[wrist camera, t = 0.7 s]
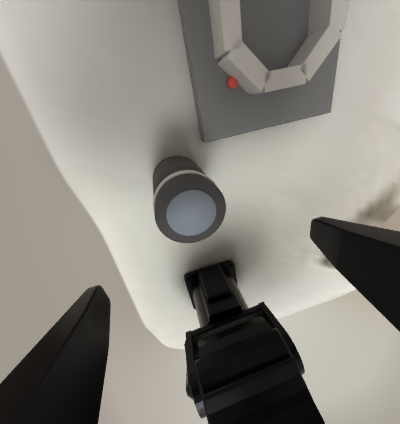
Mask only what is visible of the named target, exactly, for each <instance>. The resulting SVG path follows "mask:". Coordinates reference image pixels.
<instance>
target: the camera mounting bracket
mask: <svg viewBox="0 0 400 424" xmlns="http://www.w3.org/2000/svg"><path fill="white" fill-rule="evenodd" d="M178 5H179V11H180V17H181V22H182V28H183V34H184V40H185V46H186V51H187V57H188V63H189V69H190V74H191V80H192V86H193V92H194V97H195V103H196V109H197V115H198V120H199V126H200V132H201V138H202V141H203V142H205V143H206V142H210V141H214V140H218V139H222V138H226V137H231V136H235V135H239V134H243V133H247V132H251V131H255V130H260V129H264V128H268V127H272V126H276V125H280V124H284V123H289V122H293V121H297V120H301V119H305V118H309V117H313V116H318V115H322V114H326V113H330V112H331V105H332V97H333V89H334V82H335V74H336V67H337V59H338V51H339V44H340V37H341V36H342V35H341V30H343V29H344V28H345V20H346V13H347V6H348V0H178Z"/></svg>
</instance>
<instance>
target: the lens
mask: <svg viewBox="0 0 400 424" xmlns="http://www.w3.org/2000/svg"><path fill="white" fill-rule="evenodd" d="M153 192H154V199H153V207H154V213H155V220H156V224H157V226H158V228H159V229H160V231H161V232H162V233H163V234H164V235H165V236H166V237H168V238H169V239H171V240H173V241H176V242H180V243H194V242H198V241H201V240H203V239H205V238H207V237H209V236H210V235H212V234H213V233H214V232H215V231H216V230H217V229H218V228H219V226H220V225H221V223H222V221H223V219H224V216H225V212H226V203H225V199H224V196H223V194H222V193H221V191H220V190H219V189H218V188H217V186H216V185H215V183H214V182H213V181H212V180H211V179H210V178H209V177H208V176H206V175H205V174H204V173H203V171H202V170H201V169H200V168H199V167H198V166H197V165H196V164H195V163H194V162H193V161H192V160H190V159H188V158H186V157H183V156H172V157H168V158H166V159H164V160H163V161H162V162H160V163H159V165H158V166H157V167H156V169H155V171H154V174H153Z"/></svg>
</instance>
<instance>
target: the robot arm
mask: <svg viewBox="0 0 400 424" xmlns="http://www.w3.org/2000/svg"><path fill="white" fill-rule="evenodd" d="M310 237H311V239H312V241H313V242H314V243H315V244H316V246H317V247H318V248H319V249H320V250H321V252H322V253H323V254H324V255H325V256H326V258H327V259H328V260H329V261H330V262H331V263H332V265H333V266H334V267H335V268H336V269H337V270H338V271H339V272H340V273H341V274H342V275H343V276H344V277H345V278H346V279H347V280H348V281H349V282H350V283H351V284H352V285H353V286H354V287H355V288H356V289H357V290H358V291H359V292H360V293H361V294H362V295H363V296H364V297H365V298H366V299H367V300H368V301H369V302H370V303H371V304H372V305H373V306H374V307H375V308H376V309H377V310H378V311H379V312H380V313H381V314H382V315H383V316H385V317H386V319H387V320H388V321H389V322H390V323H391V324H393V326H394V327H395V328H396V329H398V330H399V331H400V232H399V231H394V230H389V229H384V228H378V227H373V226H368V225H363V224H358V223H352V222H347V221H342V220H337V219H332V218H326V217H319V218H315V219H313V220H312V221H311V229H310ZM229 264H230V265H229ZM184 280H185V283H186V286H187V289H188V292H189V295H190V298H191V301H192V304H193V307H194V309H196V311H197V315H198V319H199V323H200V328H198V329H196V330H193V331H188V332H186V341H185V344H184V345H185V351H186V361H187V374H186V392H187V395H188V396H189V397H190V398H191V399H193V400H194V404H195V406H196V408H197V411H198V413H199V416H200V417H201V418H204V417H207V420H208V424H325V422H324V421H323V418H322V416H321V415H320V413H319V411H318V409H317V407H316V405H315V403H314V401H313V399H312V397H311V394H310V392H309V390H308V388H307V386H306V383H305V381H304V379H303V377H302V374H304V372H305V371H304V366H303V363H302V360H301V358H300V355H299V353H298V351H297V349H296V347H295V345H294V343H293V342H292V340H291V338H290V337H289V335H288V333H287V332H286V331H285V329H284V328H283V327H282V325H281V324H280V323H279V322H278V320H277V319H276V318H275V316H274V315H273V314H272V313H271V311H270V310H269V309H268V307H267V306H266V305H265V304H264V302H261V303H259V304H258V305H256V306H254V307H251V308H248V306H247V304H246V302H245V300H244V298H243V296H242V294H241V293H240V291H239V289H238V287H237V280H236V273H235V265H234V263H233V261H232V260H229V261H226V262H223V263H219V264H216V265H213V266H210V267H207V268H204V269H201V270H198V271H194V272H191V273H188V274H186V275H185V276H184ZM109 332H110V299H109V297H108V296H107V294H106V293H105V291H104V289H103V288H102V286H100V285H97V286H94V287H91V288H88V289H87V290H86V291H85V292H84V293H83V294H82V295H81V296H80V298H79V299H78V300H77V301H76V302H75V303H74V304H73V305H72V306H71V307H70V309H68V311H67V312H66V313H65V314H64V315H63V316H62V317H61V318H60V319H59V321H58V322H57V323H56V324H55V325H54V326H53V327H52V328H51V329H50V330H49V331H48V332H47V333H46V335H45V336H44V337H43V338H42V339H41V340H40V341H39V342H38V343H37V344H36V346H35V347H34V348H33V349H32V350H31V351H30V352H29V353H28V354H27V355H26V356H25V358H23V360H22V361H21V362H20V363H19V364H18V365H17V366H16V367H15V368H14V369H13V370H12V372H11V373H10V374H9V375H8V376H7V377H6V378H5V379H4V380H3V381H2V382H1V384H0V424H98V418H99V411H100V405H101V398H102V391H103V384H104V377H105V370H106V363H107V356H108V349H109Z"/></svg>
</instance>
